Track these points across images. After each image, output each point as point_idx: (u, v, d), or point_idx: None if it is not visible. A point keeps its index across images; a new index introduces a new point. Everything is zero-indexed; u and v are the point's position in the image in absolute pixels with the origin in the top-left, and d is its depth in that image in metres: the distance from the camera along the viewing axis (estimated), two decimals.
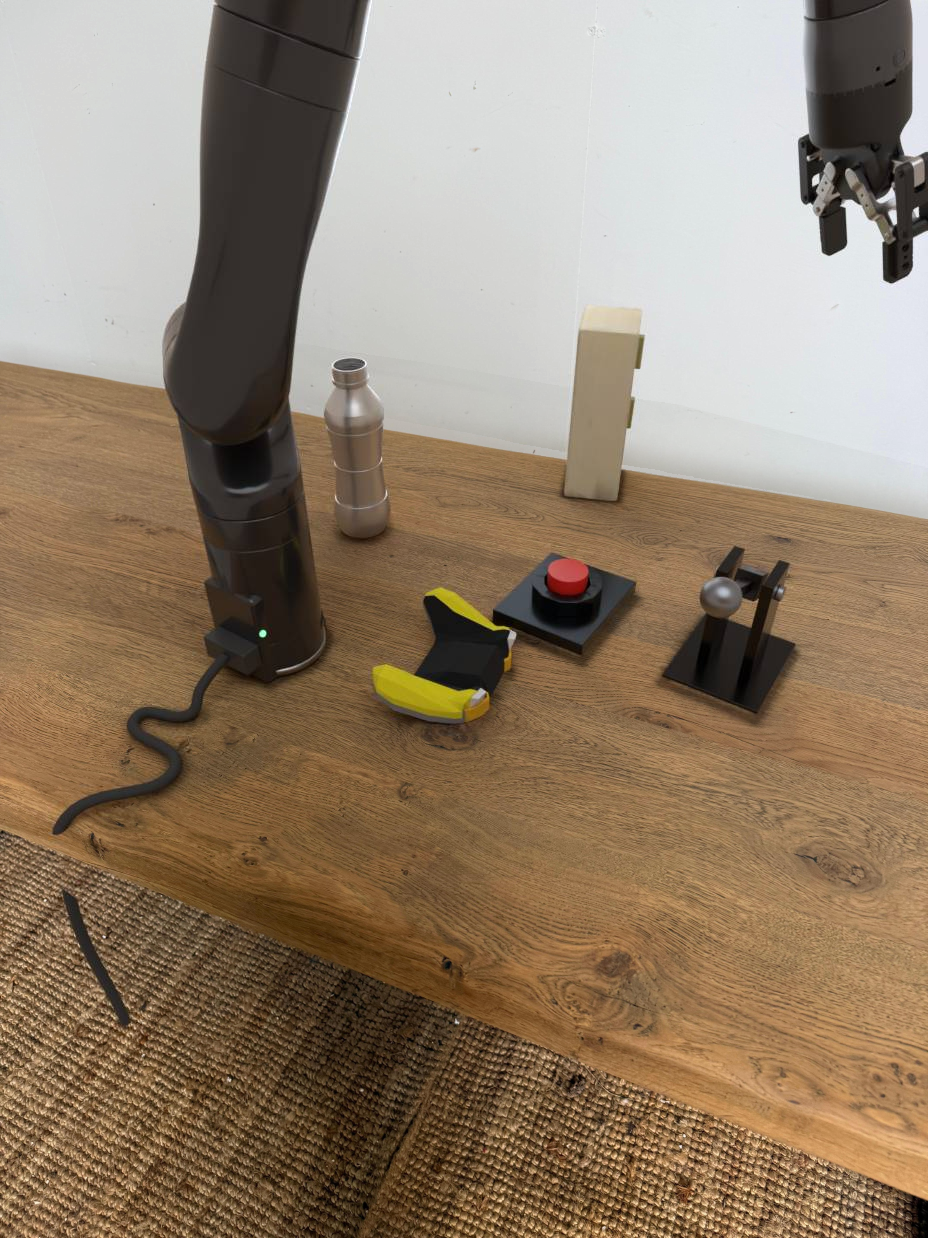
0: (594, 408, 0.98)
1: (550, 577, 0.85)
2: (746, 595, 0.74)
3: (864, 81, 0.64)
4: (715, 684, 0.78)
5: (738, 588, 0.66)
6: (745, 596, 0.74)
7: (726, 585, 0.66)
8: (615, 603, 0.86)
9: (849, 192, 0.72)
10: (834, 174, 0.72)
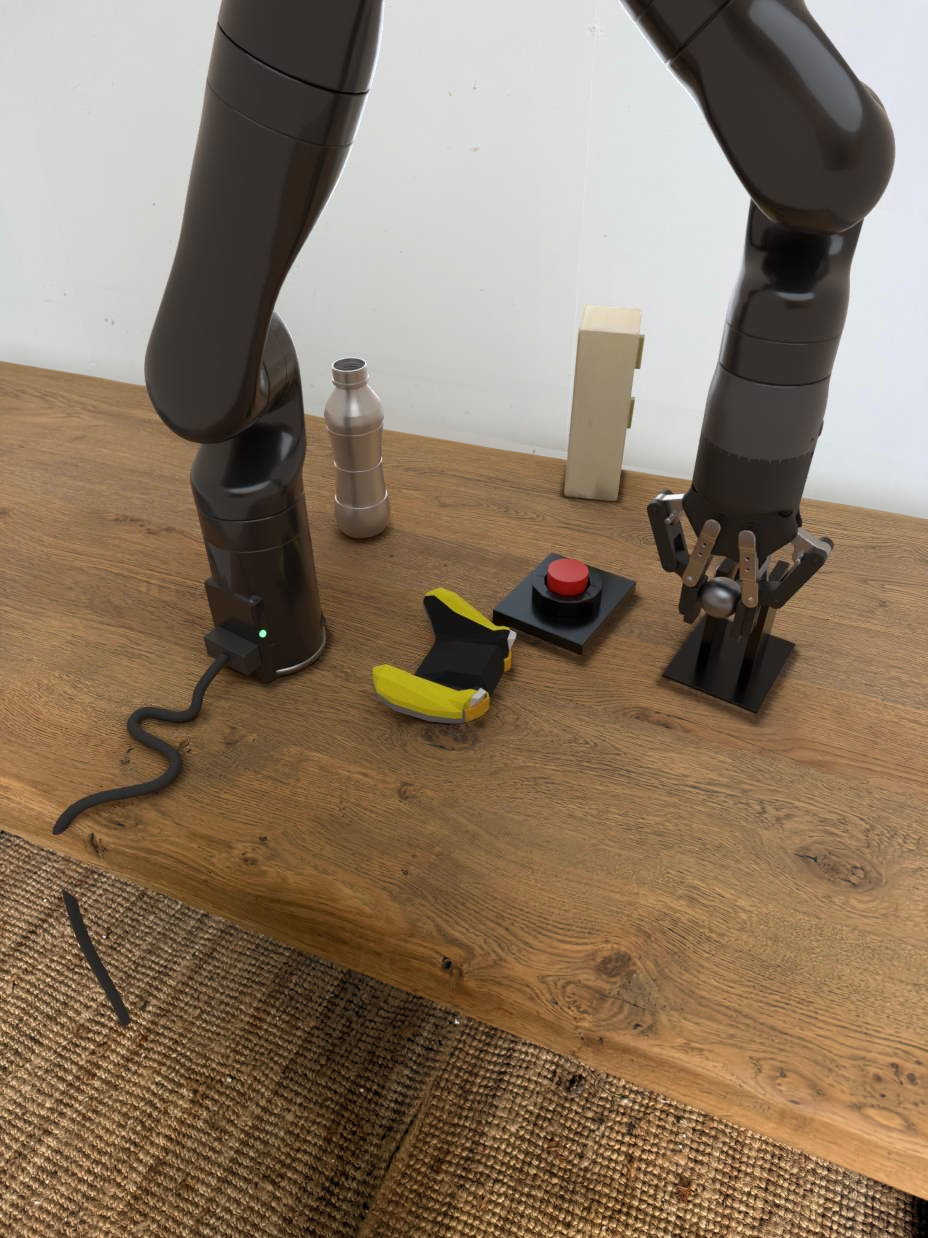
0: (594, 408, 0.98)
1: (550, 577, 0.85)
2: None
3: (800, 451, 0.55)
4: (715, 684, 0.78)
5: (738, 588, 0.66)
6: None
7: (726, 585, 0.66)
8: (615, 603, 0.86)
9: (726, 550, 0.63)
10: (719, 530, 0.62)
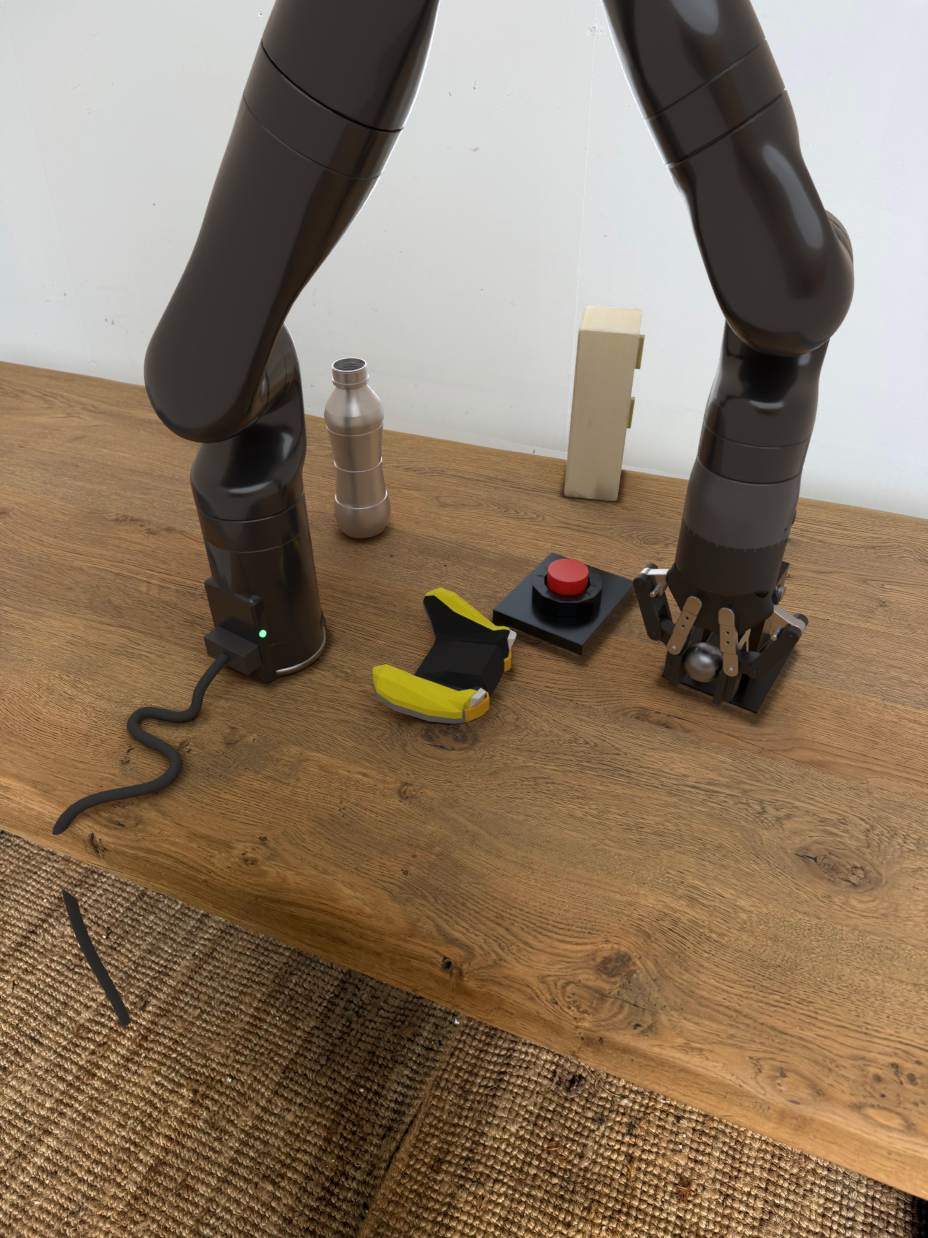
0: (594, 408, 0.98)
1: (550, 577, 0.85)
2: None
3: (774, 540, 0.59)
4: (715, 684, 0.78)
5: (717, 659, 0.69)
6: None
7: (704, 663, 0.69)
8: (615, 603, 0.86)
9: (708, 623, 0.67)
10: (700, 606, 0.65)
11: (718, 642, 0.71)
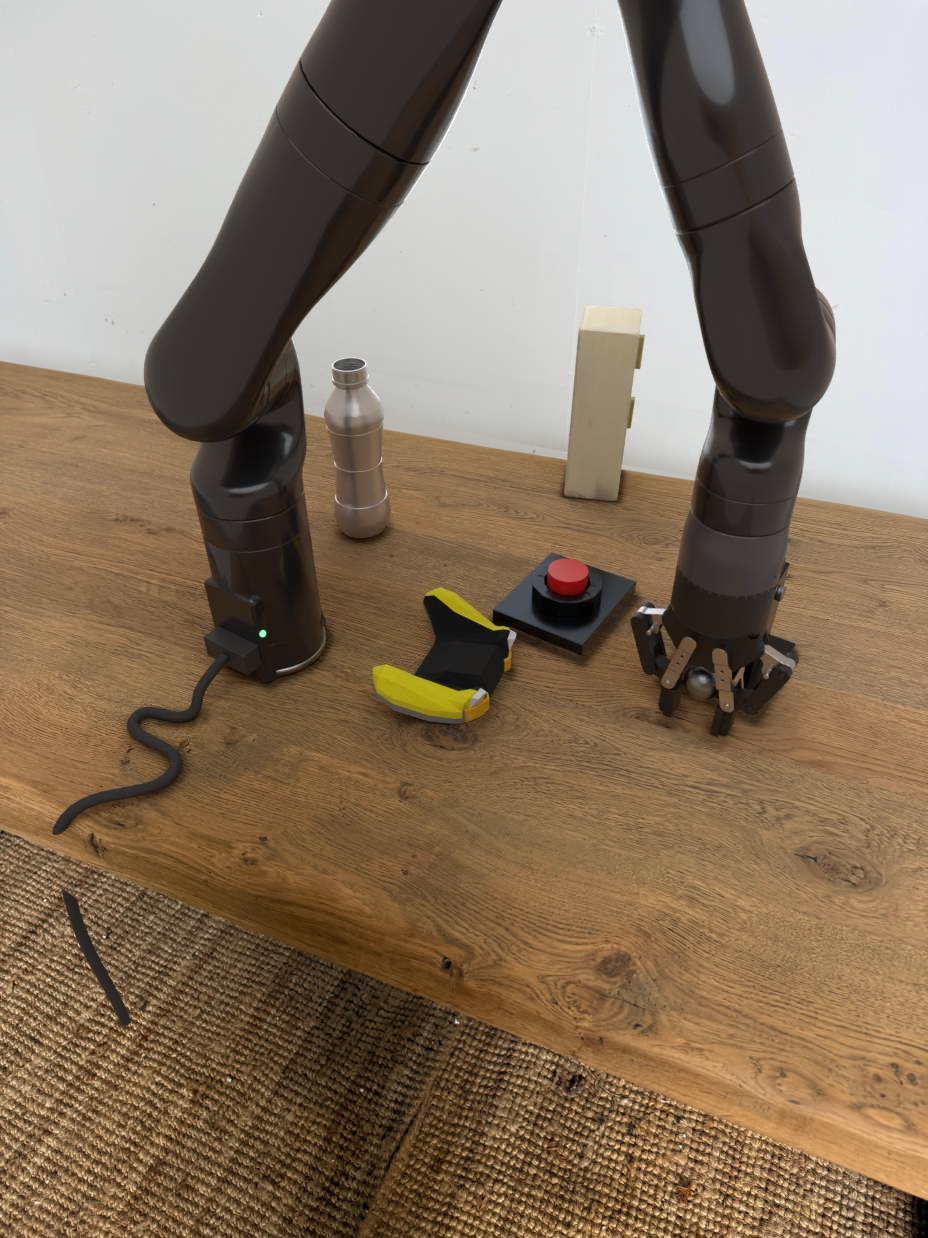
0: (594, 408, 0.98)
1: (550, 577, 0.85)
2: None
3: (764, 588, 0.62)
4: None
5: (713, 684, 0.72)
6: None
7: (701, 688, 0.72)
8: (615, 603, 0.86)
9: (702, 662, 0.70)
10: (695, 646, 0.69)
11: None
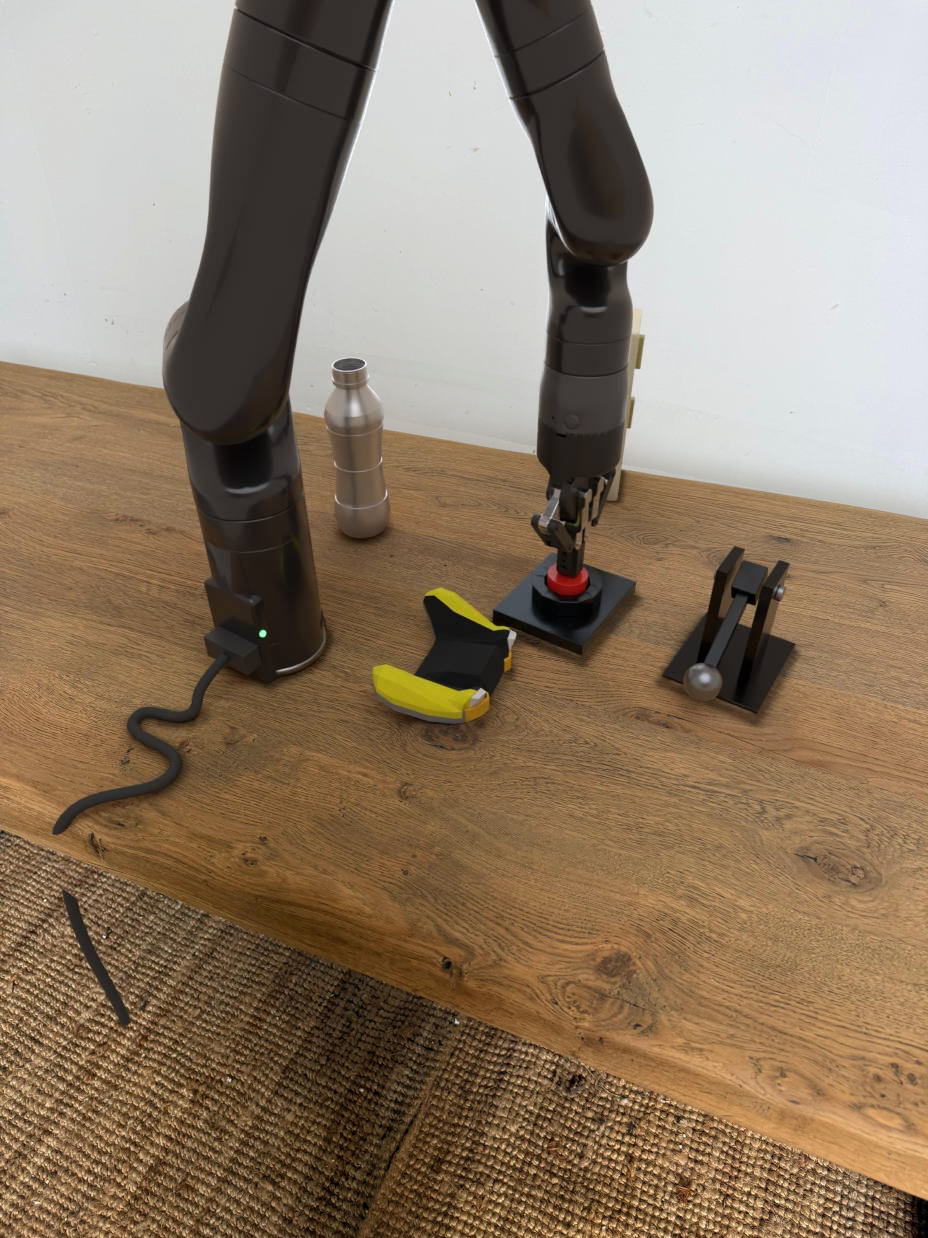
0: None
1: (550, 580, 0.85)
2: None
3: (544, 419, 0.73)
4: None
5: (713, 684, 0.72)
6: None
7: (701, 688, 0.72)
8: (615, 603, 0.86)
9: None
10: None
11: (716, 660, 0.73)
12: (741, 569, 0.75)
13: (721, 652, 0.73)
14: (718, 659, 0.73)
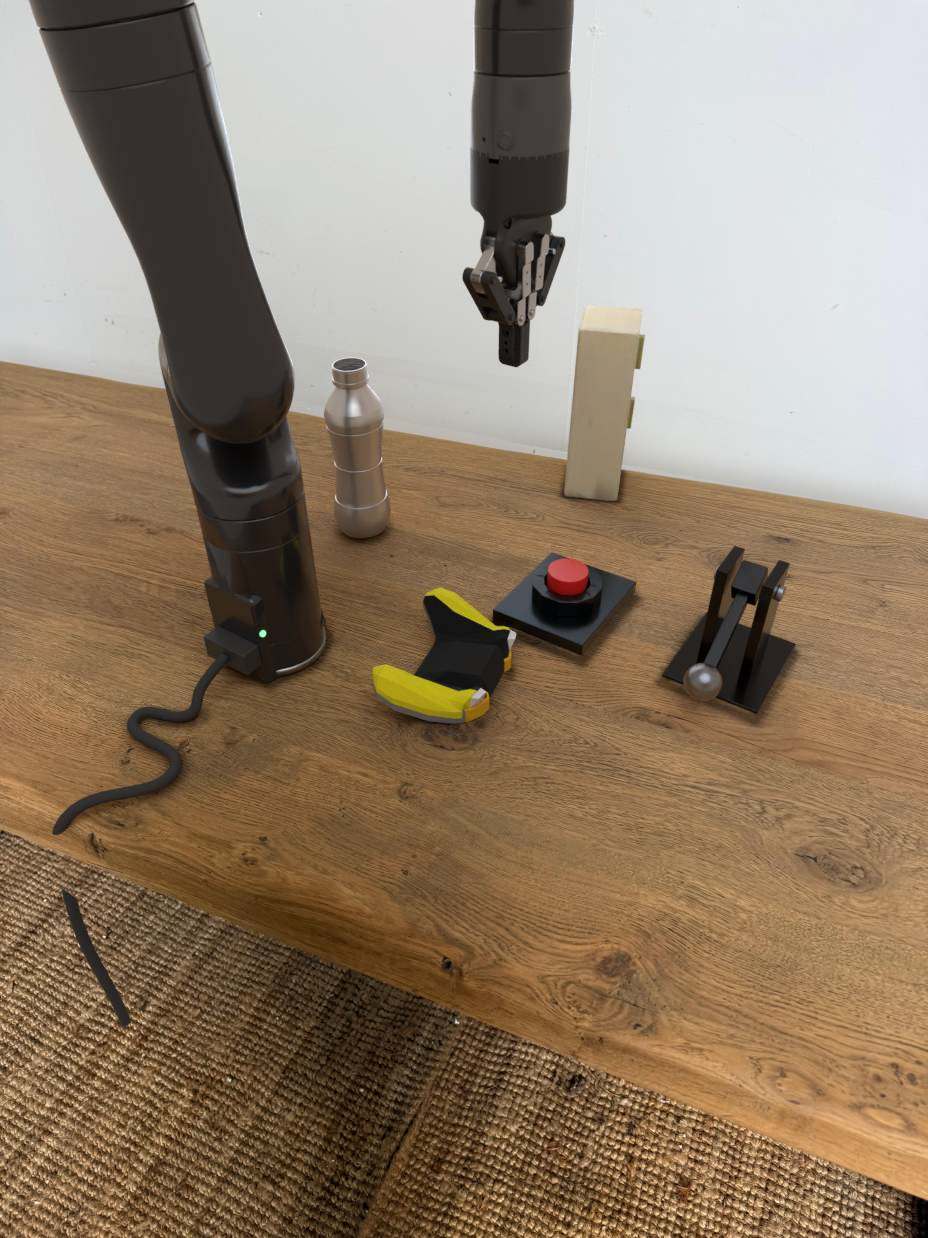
0: (594, 408, 0.98)
1: (550, 577, 0.85)
2: None
3: (476, 145, 0.64)
4: None
5: (713, 684, 0.72)
6: None
7: (701, 688, 0.72)
8: (615, 603, 0.86)
9: None
10: None
11: (716, 660, 0.73)
12: (741, 569, 0.75)
13: (721, 652, 0.73)
14: (718, 659, 0.73)
